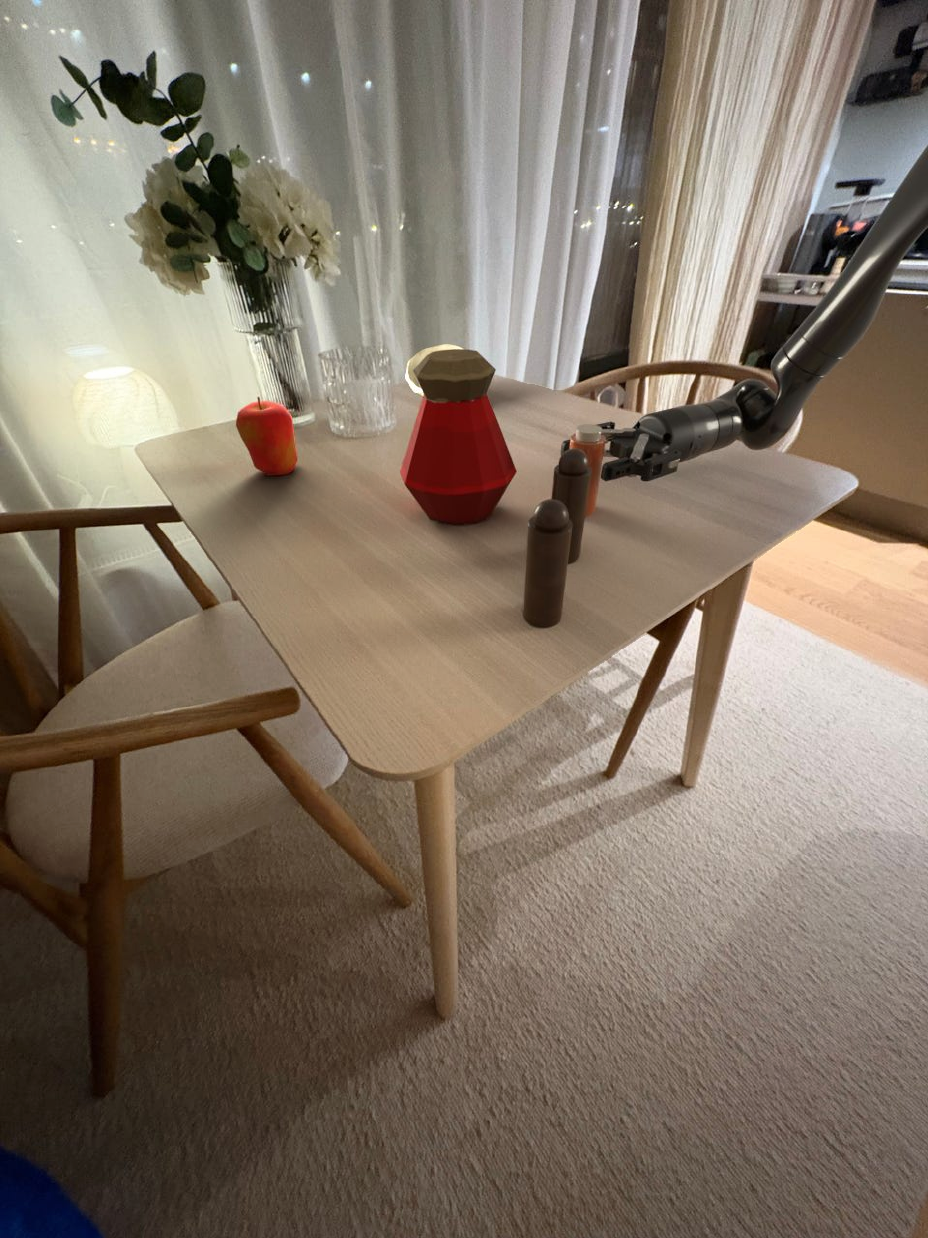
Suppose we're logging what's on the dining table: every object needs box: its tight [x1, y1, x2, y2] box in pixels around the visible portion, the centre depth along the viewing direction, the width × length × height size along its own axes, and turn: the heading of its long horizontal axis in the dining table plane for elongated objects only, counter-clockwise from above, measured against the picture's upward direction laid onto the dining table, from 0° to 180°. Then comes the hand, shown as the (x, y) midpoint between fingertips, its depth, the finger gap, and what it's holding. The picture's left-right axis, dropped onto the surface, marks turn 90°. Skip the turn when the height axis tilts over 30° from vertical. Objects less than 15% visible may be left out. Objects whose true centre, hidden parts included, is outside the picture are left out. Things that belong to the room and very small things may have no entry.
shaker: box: [569, 423, 606, 517], centre depth 65 cm, size 4×4×11 cm
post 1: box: [522, 498, 573, 629], centre depth 48 cm, size 4×4×13 cm
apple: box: [235, 396, 298, 476], centre depth 79 cm, size 9×8×12 cm
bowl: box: [405, 343, 463, 397], centre depth 104 cm, size 15×14×10 cm
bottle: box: [399, 348, 517, 527], centre depth 63 cm, size 16×14×20 cm
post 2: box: [551, 448, 592, 565], centre depth 56 cm, size 4×4×13 cm
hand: (582, 461), depth 64 cm, fingers open, 8 cm apart
